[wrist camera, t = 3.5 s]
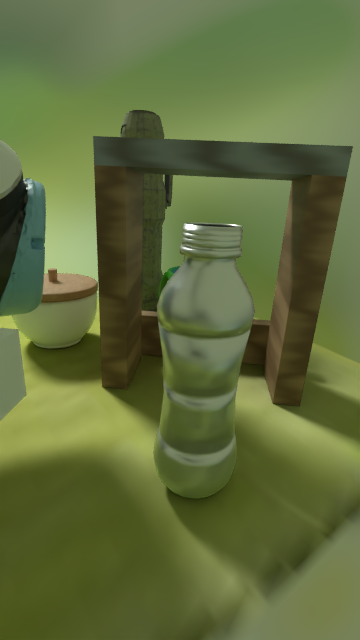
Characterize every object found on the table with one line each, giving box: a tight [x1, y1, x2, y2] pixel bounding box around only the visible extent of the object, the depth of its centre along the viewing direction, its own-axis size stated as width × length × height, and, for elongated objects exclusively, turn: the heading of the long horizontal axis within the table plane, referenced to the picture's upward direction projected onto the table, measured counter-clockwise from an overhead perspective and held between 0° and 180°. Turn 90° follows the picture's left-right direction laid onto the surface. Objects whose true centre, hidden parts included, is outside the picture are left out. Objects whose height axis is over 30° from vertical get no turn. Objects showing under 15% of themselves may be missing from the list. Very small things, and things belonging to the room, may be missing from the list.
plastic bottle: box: [153, 222, 255, 499], centre depth 24 cm, size 6×7×20 cm
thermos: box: [121, 110, 173, 312], centre depth 63 cm, size 9×12×35 cm
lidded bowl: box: [12, 269, 98, 349], centre depth 49 cm, size 13×13×11 cm
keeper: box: [93, 136, 353, 406], centre depth 39 cm, size 23×12×26 cm, turn 84°
